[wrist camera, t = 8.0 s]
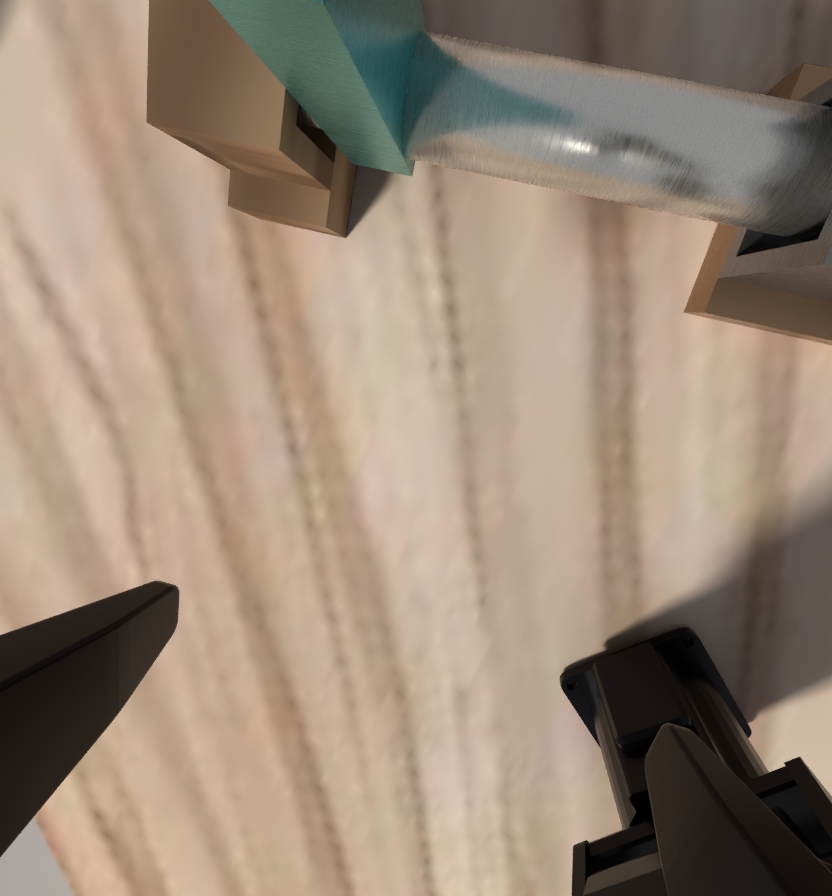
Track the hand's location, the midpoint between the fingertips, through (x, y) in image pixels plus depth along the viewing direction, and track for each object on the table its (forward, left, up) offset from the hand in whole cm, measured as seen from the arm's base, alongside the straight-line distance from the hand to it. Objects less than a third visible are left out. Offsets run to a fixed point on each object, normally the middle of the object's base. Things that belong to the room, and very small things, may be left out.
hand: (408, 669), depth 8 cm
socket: (+14, -2, -12) cm, 18 cm away
